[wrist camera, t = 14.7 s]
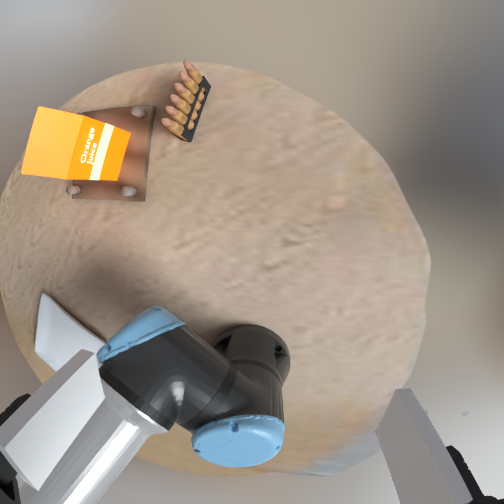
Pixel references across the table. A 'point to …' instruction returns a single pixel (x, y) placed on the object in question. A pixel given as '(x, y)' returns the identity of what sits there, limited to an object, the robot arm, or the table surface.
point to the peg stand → (134, 159)
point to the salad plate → (61, 335)
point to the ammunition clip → (187, 103)
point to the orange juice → (74, 147)
